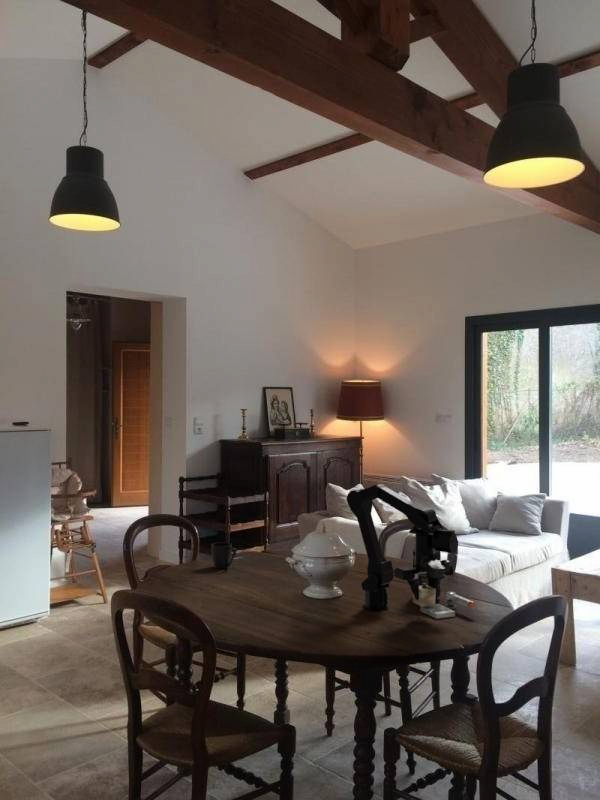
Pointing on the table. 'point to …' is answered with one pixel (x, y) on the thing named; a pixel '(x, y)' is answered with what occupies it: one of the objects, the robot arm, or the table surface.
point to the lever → (460, 600)
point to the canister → (425, 576)
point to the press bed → (437, 611)
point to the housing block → (425, 596)
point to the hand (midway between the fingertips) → (424, 598)
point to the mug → (222, 554)
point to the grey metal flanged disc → (451, 604)
